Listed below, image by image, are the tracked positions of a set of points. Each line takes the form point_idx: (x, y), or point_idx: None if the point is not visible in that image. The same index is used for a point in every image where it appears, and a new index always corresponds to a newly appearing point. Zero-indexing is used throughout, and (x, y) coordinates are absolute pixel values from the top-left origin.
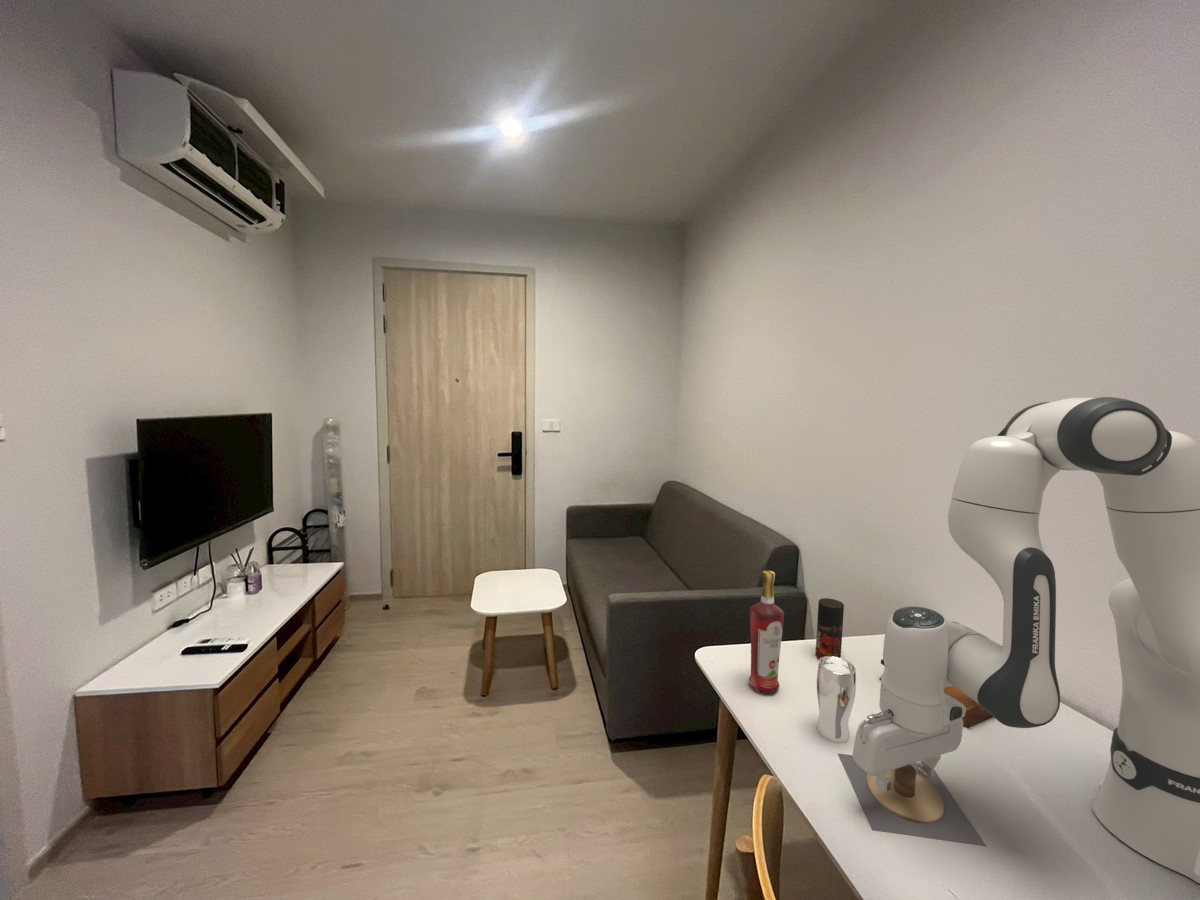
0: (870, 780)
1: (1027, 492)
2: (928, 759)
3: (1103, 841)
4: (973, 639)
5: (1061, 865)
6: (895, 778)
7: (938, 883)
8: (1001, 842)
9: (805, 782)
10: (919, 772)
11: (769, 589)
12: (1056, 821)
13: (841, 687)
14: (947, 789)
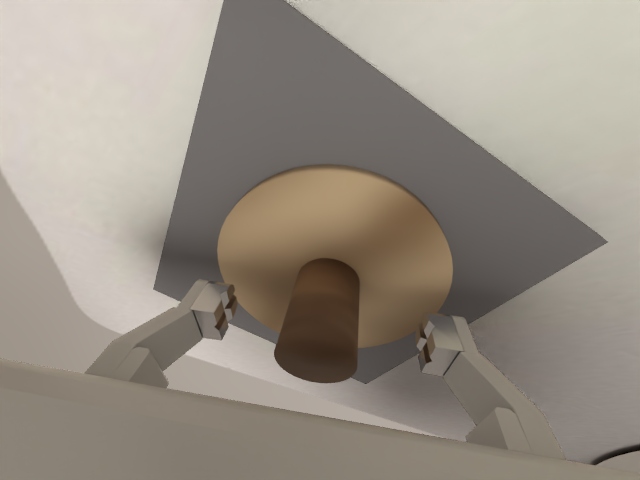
0: (245, 214)
1: None
2: (474, 391)
3: (590, 441)
4: None
5: (450, 419)
6: (289, 303)
7: (220, 360)
8: (413, 382)
9: (3, 71)
10: (422, 318)
11: None
12: (591, 412)
13: None
14: (484, 314)
